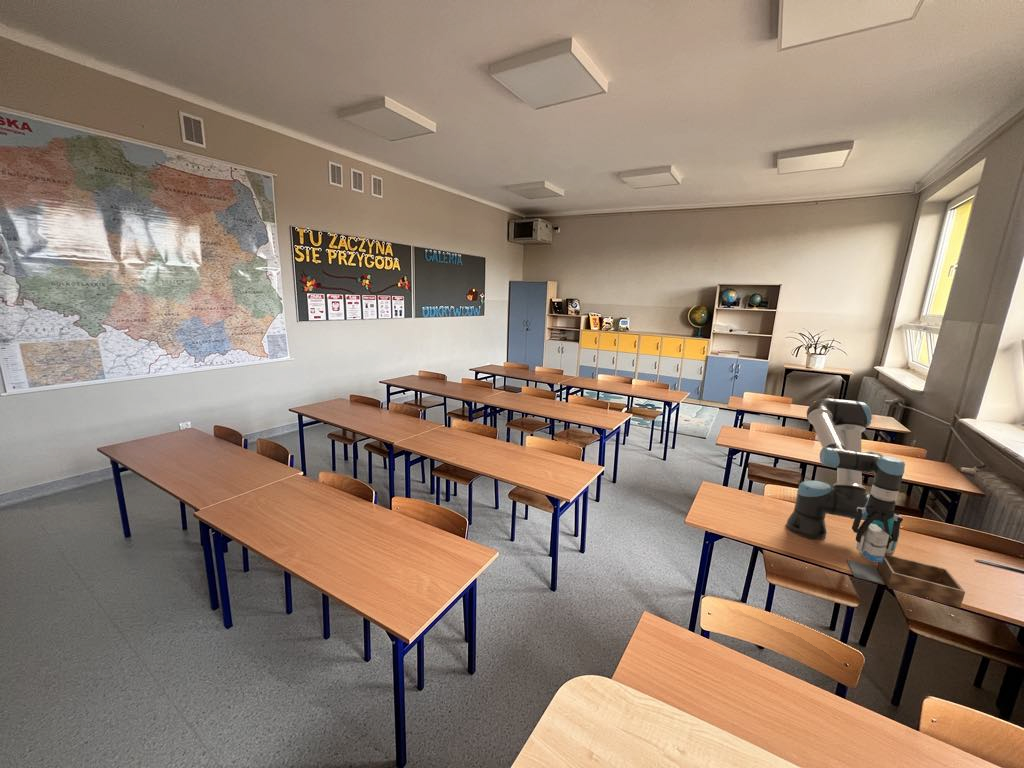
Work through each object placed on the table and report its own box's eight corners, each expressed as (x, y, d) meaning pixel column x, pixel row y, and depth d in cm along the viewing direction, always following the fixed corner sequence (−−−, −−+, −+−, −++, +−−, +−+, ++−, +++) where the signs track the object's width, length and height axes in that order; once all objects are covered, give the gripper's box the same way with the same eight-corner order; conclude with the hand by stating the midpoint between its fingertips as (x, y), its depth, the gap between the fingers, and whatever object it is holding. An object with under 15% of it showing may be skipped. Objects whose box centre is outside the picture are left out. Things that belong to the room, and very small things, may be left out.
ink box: (883, 563, 158) (890, 535, 156) (868, 561, 159) (875, 532, 157) (869, 550, 166) (875, 523, 164) (855, 548, 167) (861, 521, 165)
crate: (888, 588, 155) (892, 572, 154) (876, 567, 168) (880, 552, 166) (960, 608, 146) (965, 591, 145) (941, 583, 159) (946, 568, 158)
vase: (898, 565, 170) (909, 522, 166) (866, 558, 173) (876, 516, 169) (885, 550, 180) (896, 510, 176) (855, 545, 183) (865, 504, 179)
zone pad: (854, 576, 161) (854, 575, 161) (846, 560, 171) (846, 558, 171) (883, 584, 157) (884, 583, 157) (874, 567, 167) (874, 566, 167)
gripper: (854, 494, 159) (841, 549, 163) (919, 508, 150) (904, 565, 155) (849, 487, 165) (837, 540, 170) (911, 499, 157) (897, 555, 161)
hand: (869, 552), depth 162 cm, fingers closed on ink box, 6 cm apart
